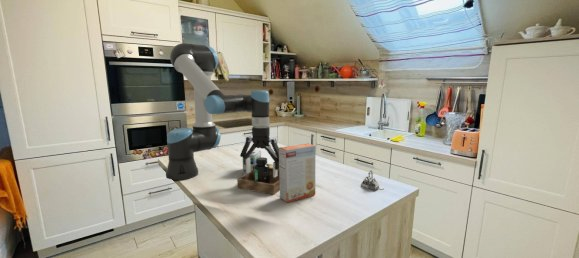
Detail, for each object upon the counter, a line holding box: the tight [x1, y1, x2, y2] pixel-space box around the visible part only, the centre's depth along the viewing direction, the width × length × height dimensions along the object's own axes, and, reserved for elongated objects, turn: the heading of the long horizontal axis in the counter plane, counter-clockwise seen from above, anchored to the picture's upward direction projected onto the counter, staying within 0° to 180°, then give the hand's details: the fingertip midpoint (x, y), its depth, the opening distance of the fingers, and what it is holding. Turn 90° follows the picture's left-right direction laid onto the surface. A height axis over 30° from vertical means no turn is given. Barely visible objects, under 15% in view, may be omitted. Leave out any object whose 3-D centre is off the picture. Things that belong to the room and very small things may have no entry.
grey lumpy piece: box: [360, 170, 384, 191], centre depth 121 cm, size 9×9×8 cm
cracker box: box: [279, 143, 316, 203], centre depth 107 cm, size 14×6×21 cm, turn 122°
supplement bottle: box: [254, 156, 270, 184], centre depth 118 cm, size 7×7×12 cm
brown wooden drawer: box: [236, 172, 280, 195], centre depth 119 cm, size 18×12×4 cm, turn 66°
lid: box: [251, 163, 279, 175], centre depth 129 cm, size 18×12×3 cm, turn 66°
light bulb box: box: [242, 149, 262, 176], centre depth 139 cm, size 11×7×11 cm, turn 168°
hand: (261, 174), depth 118 cm, fingers open, 13 cm apart
